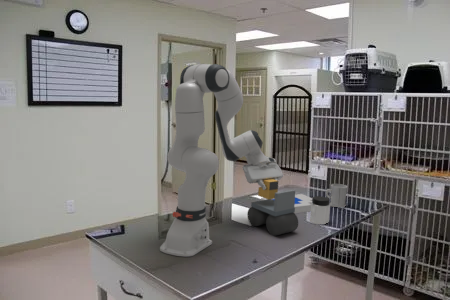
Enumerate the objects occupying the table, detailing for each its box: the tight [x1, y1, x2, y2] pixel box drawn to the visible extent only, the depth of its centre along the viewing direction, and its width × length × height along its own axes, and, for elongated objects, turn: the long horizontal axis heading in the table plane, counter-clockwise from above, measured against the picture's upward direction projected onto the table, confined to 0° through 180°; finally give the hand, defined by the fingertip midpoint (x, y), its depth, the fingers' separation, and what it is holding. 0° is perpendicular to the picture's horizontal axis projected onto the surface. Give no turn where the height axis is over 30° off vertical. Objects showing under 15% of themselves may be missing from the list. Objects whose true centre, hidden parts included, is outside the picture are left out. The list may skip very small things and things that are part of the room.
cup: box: [325, 183, 348, 208], centre depth 201 cm, size 10×9×12 cm
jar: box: [309, 195, 331, 225], centre depth 173 cm, size 9×8×12 cm
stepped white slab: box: [260, 193, 313, 214], centre depth 200 cm, size 28×4×28 cm
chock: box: [257, 179, 279, 199], centre depth 163 cm, size 7×6×8 cm
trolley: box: [247, 189, 299, 237], centre depth 162 cm, size 22×12×19 cm, turn 36°
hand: (271, 188), depth 161 cm, fingers closed on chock, 5 cm apart
